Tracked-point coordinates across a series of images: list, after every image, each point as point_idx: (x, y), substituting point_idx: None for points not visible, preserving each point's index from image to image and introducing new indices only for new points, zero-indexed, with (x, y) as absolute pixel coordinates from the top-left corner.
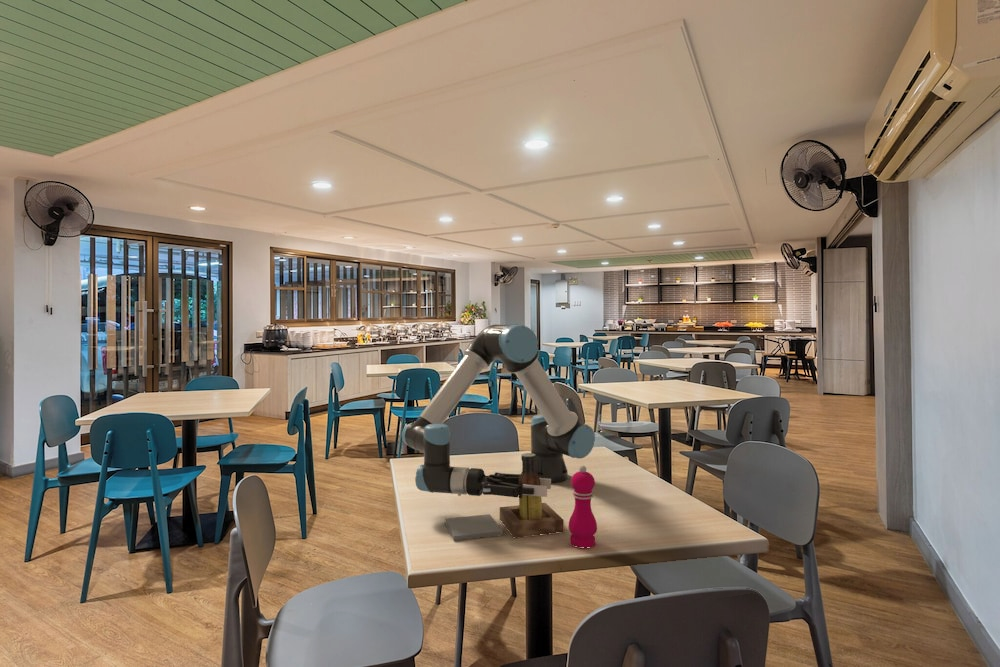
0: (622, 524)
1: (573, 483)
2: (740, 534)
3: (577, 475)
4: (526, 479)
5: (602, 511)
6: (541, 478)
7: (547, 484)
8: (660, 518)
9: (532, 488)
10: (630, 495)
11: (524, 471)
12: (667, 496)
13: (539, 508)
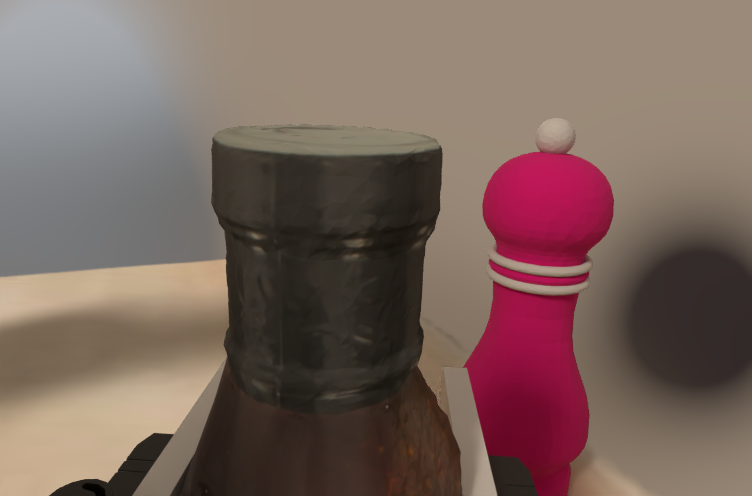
0: None
1: (605, 217)
2: None
3: (595, 168)
4: (453, 445)
5: (109, 416)
6: (209, 398)
7: None
8: (220, 315)
9: (495, 465)
10: None
11: (402, 383)
12: (28, 291)
13: None
